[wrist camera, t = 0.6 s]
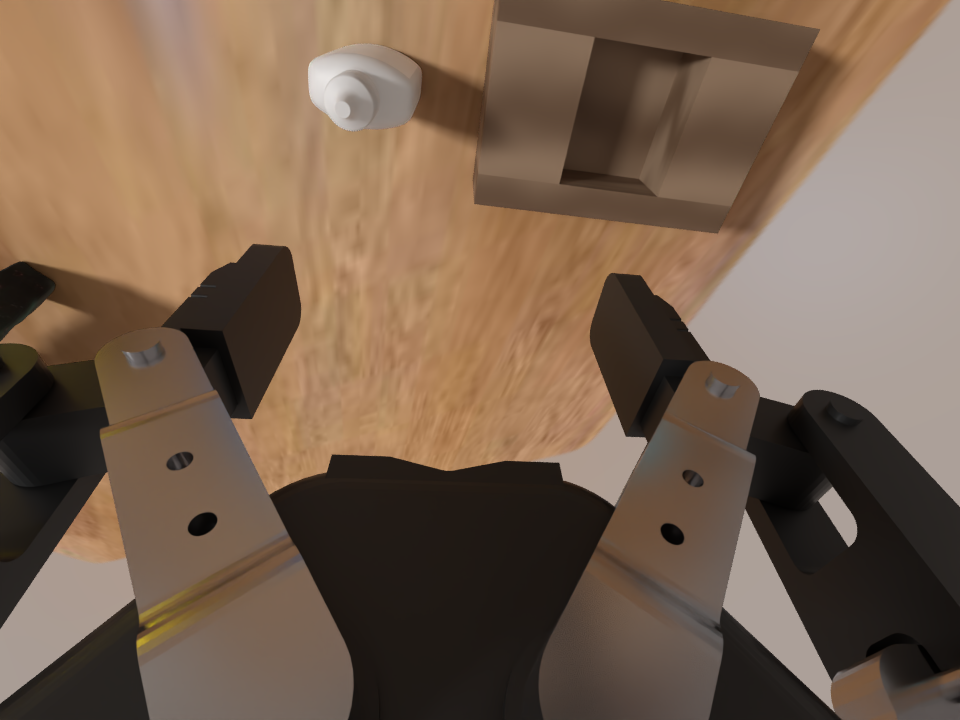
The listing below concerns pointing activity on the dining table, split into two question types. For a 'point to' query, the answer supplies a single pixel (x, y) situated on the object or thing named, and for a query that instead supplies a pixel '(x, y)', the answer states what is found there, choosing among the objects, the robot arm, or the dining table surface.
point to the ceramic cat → (20, 294)
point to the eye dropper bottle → (365, 86)
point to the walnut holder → (629, 108)
